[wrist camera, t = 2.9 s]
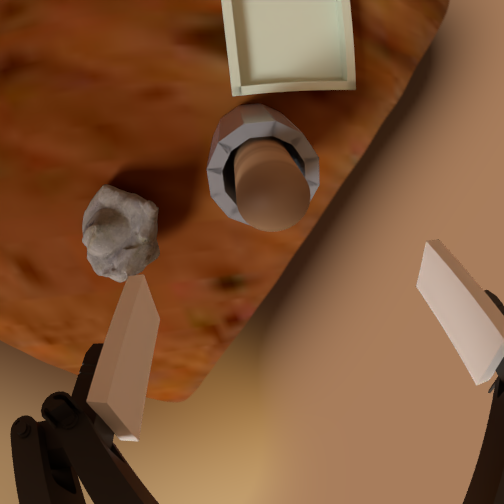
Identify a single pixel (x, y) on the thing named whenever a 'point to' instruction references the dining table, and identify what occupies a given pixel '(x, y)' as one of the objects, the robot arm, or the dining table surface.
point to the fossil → (120, 233)
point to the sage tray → (289, 45)
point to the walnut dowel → (269, 185)
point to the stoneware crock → (241, 129)
